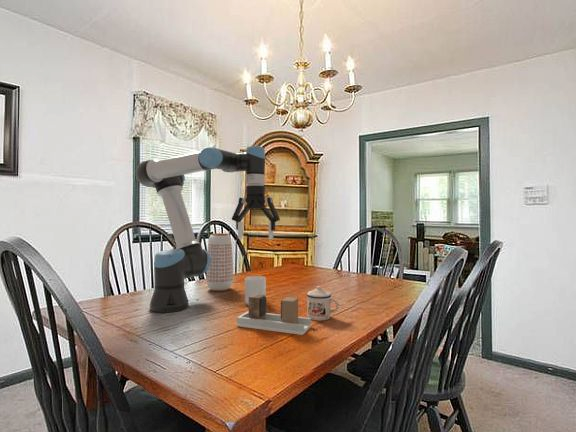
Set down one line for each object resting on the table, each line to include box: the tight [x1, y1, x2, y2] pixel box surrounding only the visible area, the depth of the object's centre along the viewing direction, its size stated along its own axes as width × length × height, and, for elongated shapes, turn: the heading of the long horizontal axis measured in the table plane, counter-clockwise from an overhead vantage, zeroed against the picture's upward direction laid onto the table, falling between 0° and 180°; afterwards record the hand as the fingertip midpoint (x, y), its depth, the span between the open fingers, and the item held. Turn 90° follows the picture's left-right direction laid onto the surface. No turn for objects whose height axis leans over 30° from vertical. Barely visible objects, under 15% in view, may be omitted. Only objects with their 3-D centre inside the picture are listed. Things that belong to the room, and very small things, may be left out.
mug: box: [244, 275, 267, 307], centre depth 154 cm, size 12×9×11 cm
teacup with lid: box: [306, 285, 340, 322], centre depth 133 cm, size 12×9×12 cm
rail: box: [236, 296, 312, 336], centre depth 123 cm, size 24×9×10 cm, turn 69°
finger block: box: [248, 294, 267, 320], centre depth 125 cm, size 5×5×9 cm
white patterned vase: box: [206, 232, 234, 292], centre depth 180 cm, size 13×13×28 cm
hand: (255, 238), depth 143 cm, fingers open, 13 cm apart
